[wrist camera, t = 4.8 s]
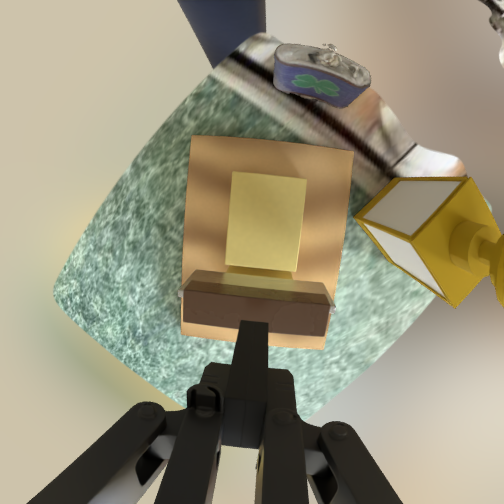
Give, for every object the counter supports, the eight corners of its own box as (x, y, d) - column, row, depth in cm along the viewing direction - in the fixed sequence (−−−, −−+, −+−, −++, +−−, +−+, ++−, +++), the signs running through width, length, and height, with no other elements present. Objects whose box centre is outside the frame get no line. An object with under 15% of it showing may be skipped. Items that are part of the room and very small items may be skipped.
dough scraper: (196, 259, 28) (169, 287, 20) (324, 272, 28) (345, 305, 20) (195, 284, 29) (169, 320, 21) (320, 297, 28) (338, 338, 20)
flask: (270, 89, 31) (271, 51, 21) (277, 68, 31) (280, 25, 20) (347, 112, 31) (378, 85, 21) (352, 91, 31) (383, 58, 20)
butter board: (194, 136, 33) (191, 134, 31) (350, 152, 32) (353, 151, 31) (183, 329, 38) (180, 334, 37) (321, 344, 38) (323, 349, 36)
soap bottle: (451, 195, 32) (598, 219, 9) (387, 261, 35) (513, 355, 12) (421, 150, 32) (571, 130, 9) (353, 217, 34) (480, 273, 11)
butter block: (237, 173, 32) (232, 171, 28) (302, 179, 32) (307, 178, 28) (230, 254, 34) (224, 264, 30) (292, 260, 34) (296, 272, 29)
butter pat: (229, 264, 34) (223, 276, 30) (291, 271, 34) (294, 283, 30) (227, 289, 35) (221, 304, 31) (287, 296, 35) (290, 311, 30)
